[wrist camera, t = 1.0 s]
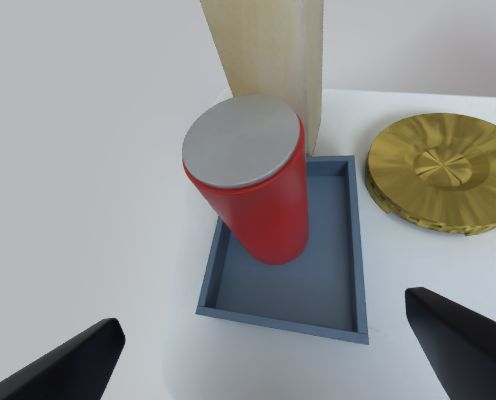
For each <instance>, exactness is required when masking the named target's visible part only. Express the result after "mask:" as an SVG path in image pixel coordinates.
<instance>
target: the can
mask: <svg viewBox="0 0 496 400" xmlns="http://www.w3.org/2000/svg"><path fill="white" fill-rule="evenodd" d="M182 156H183V166H184V170H185V172H186V174H187V176H188V178H189V179H190V180H191V181H192V183H193V184H194V185H195V186H196V188H197V189H198V190H199V191H200V193H201V194H202V195H203V196H204V198H205V199H206V200H207V201H208V203H209V204H210V205H211V206H212V207H213V209H214V210H215V211H216V212H217V214H218V215H219V216H220V217H221V219H222V220H223V221H224V222H225V224H226V225H227V226H228V227H229V229H230V230H231V231H232V232H233V234H234V235H235V236H236V237H237V239H238V240H239V241H240V242H241V243H242V245H243V246H244V247H245V248H246V250H247V251H248V252H249V253H250V254H251V256H252V257H254V258H255V259H256V260H258V261H260V262H262V263H265V264H269V265H282V264H286V263H288V262H290V261H292V260H294V259H295V258H297V257H298V256H299V255H300V254H301V253H302V252H303V251H304V249H305V247H306V245H307V243H308V239H309V217H308V196H307V174H306V152H305V131H304V127H303V123H302V121H301V119H300V118H299V116H298V115H297V113H296V112H295V111H294V110H293V109H292V108H291V107H290V106H289V105H288V104H287V103H286V102H284V101H282V100H280V99H278V98H276V97H273V96H268V95H261V94H251V95H243V96H238V97H234V98H231V99H228V100H225V101H223V102H221V103H219V104H217V105H215V106H213V107H212V108H210V109H209V110H207V111H206V112H205V113H203V114H202V115H201V116H200V117H199V118H198V119H197V120H196V121H195V122H194V123H193V125H192V126H191V127H190V129H189V131H188V132H187V134H186V136H185V139H184V142H183V148H182Z"/></svg>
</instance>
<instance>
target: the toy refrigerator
mask: <svg viewBox="0 0 496 400" xmlns="http://www.w3.org/2000/svg"><path fill="white" fill-rule="evenodd" d="M323 1H324V0H200V3H201V5H202V8H203V11H204V14H205V17H206V20H207V23H208V26H209V29H210V32H211V34H212V37H213V40H214V43H215V46H216V49H217V51H218V54H219V57H220V60H221V63H222V66H223V69H224V71H225V74H226V77H227V80H228V83H229V86H230V89H231V91H232V94H233V97H238V96H243V95H251V94H261V95H268V96H273V97H276V98H278V99H280V100H282V101H284V102H286V103H287V104H288V105H289V106H290V107H291V108H292V109H293V110H294V111H295V112H296V113H297V115H298V116H299V118H300V119H301V121H302V123H303V127H304V131H305V152H306V157H312V156H313V152H314V148H315V143H316V139H317V134H318V130H319V125H320V120H321V98H322V51H323V50H322V49H323Z"/></svg>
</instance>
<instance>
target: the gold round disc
mask: <svg viewBox="0 0 496 400" xmlns="http://www.w3.org/2000/svg"><path fill="white" fill-rule="evenodd" d="M366 176H367V180H366V186H367V189H368V191H369V193H370V195H371V196H372V198H373V199H374V201H375V202H376V203H377V204H378V205H379V207H380V208H381V209H383V210H384V211H385V212H386V213H389V212H390V211H392V212H393V213H395V214H396V215H398V216H400V217H401V218H403V219H405V220H407V221H409V222H411V223H414V224H416V225H419V226H422V227H425V228H428V229H432V230H436V231H443V232H450V233H465V234H466V236H469V235H476V234H480V233H483V232H487V231H489V230H492V229H494V228H496V125H494V124H492V123H489V122H487V121H484V120H481V119H477V118H474V117H469V116H465V115H458V114H449V113H432V114H422V115H416V116H412V117H408V118H405V119H402V120H400V121H398V122H395V123H394V124H392V125H390V126H388V127H387V128H386V129H384V130H383V131H382V132H381V133H380V134H379V135H378V136H377V137H376V139H375V140H374V142H373V144H372V145H371V148H370V151H369V154H368V158H367V161H366Z"/></svg>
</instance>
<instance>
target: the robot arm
mask: <svg viewBox="0 0 496 400" xmlns="http://www.w3.org/2000/svg"><path fill="white" fill-rule="evenodd" d="M405 304H406V316H407V319H408V322H409V324H410V326H411V328H412V330H413V332H414V333H415V335H416V337H417V339H418V341H419V343H420V345H421V347H422V349H423V351H424V353H425V354H426V356H427V358H428V360H429V362H430V364H431V366H432V368H433V370H434V372H435V374H436V375H437V377H438V379H439V381H440V383H441V385H442V386H443V388H444V390H445V391H446V393H447V395H448V396H449V398H450V400H496V322H495V321H493V320H491V319H489V318H487V317H485V316H483V315H481V314H479V313H477V312H474V311H472V310H470V309H468V308H466V307H464V306H462V305H460V304H458V303H456V302H453V301H451V300H449V299H447V298H445V297H443V296H441V295H439V294H437V293H435V292H432V291H430V290H428V289H426V288H424V287H416V288H408V289H406V290H405ZM124 345H125V335H124V333H123V330H122V328H121V326H120V324H119V321H118V320H117V319H116V318H108V319H103V320H101V321H99V322H98V323H96V324H95V325H93V326H91V327H90V328H88V329H87V330H85V331H83V332H81V333H80V334H78V335H77V336H75V337H74V338H72V339H70V340H68V341H67V342H65V343H63V344H62V345H60V346H58V347H57V348H55V349H54V350H52V351H50V352H49V353H47V354H45V355H44V356H42V357H40V358H39V359H37V360H36V361H34V362H32V363H31V364H29V365H27V366H26V367H24V368H23V369H21V370H19V371H18V372H16V373H14V374H13V375H11V376H10V377H8V378H6V379H4V380H3V381H1V382H0V400H100V399H101V397H102V395H103V393H104V390H105V388H106V386H107V384H108V382H109V379H110V377H111V375H112V372H113V370H114V368H115V366H116V363H117V361H118V359H119V356H120V354H121V352H122V350H123V348H124Z"/></svg>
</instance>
